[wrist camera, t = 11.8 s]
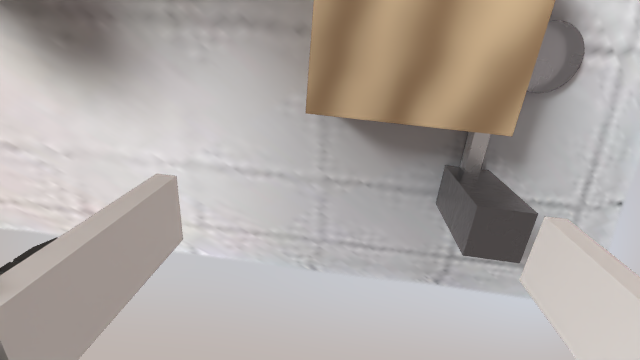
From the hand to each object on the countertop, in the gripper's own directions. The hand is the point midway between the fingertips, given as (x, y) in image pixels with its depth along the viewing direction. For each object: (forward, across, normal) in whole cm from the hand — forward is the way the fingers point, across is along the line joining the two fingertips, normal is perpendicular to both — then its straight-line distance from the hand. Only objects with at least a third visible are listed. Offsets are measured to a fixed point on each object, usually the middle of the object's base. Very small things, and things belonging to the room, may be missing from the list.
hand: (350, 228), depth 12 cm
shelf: (+23, +4, +8) cm, 25 cm away
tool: (+23, +13, +1) cm, 26 cm away
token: (+23, +17, +6) cm, 29 cm away
